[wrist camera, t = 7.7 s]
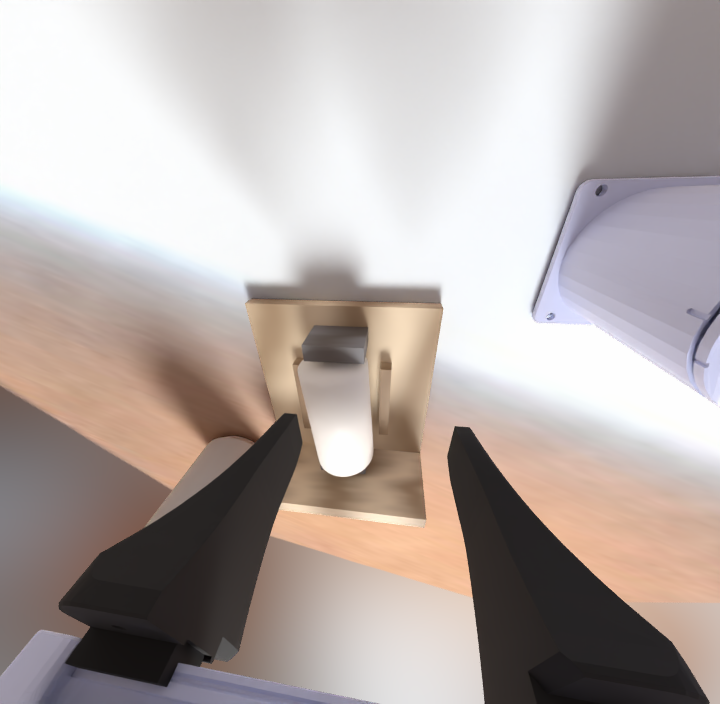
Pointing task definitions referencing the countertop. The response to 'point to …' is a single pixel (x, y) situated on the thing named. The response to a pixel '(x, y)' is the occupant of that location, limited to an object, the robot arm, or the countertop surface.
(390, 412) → the roll holder
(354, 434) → the cylinder
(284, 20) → the countertop surface
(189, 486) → the can
